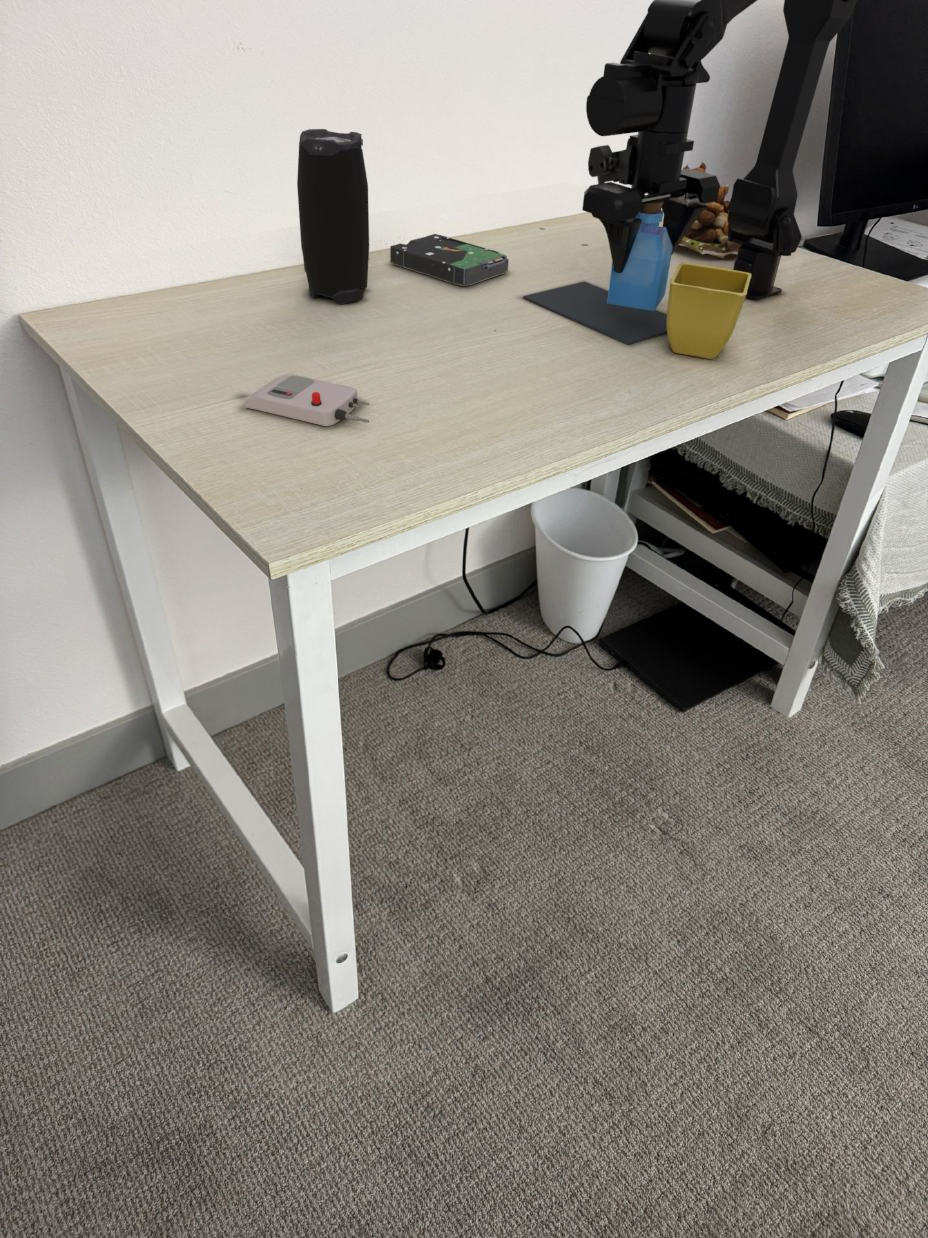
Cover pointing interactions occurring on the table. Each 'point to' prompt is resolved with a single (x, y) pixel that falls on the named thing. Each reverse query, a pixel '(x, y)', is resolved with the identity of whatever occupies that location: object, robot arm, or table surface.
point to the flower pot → (704, 308)
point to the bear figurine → (711, 227)
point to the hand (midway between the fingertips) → (641, 266)
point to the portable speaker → (333, 214)
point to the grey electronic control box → (306, 400)
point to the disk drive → (449, 259)
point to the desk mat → (601, 312)
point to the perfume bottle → (644, 264)
